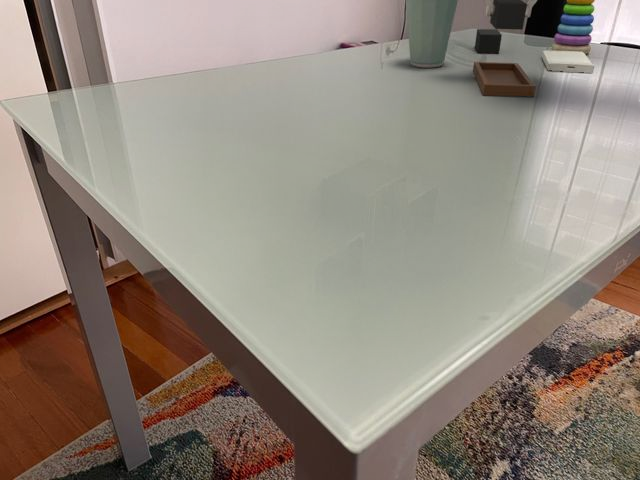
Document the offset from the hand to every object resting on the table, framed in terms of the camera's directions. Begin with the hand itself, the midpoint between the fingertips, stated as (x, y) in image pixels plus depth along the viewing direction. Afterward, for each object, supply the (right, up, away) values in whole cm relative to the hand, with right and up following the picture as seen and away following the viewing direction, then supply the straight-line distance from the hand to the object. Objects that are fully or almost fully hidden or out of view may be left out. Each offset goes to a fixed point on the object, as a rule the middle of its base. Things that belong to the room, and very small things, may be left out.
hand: (507, 16), depth 92 cm
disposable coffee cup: (-11, -3, +16) cm, 20 cm away
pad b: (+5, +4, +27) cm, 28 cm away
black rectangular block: (0, -1, +1) cm, 2 cm away
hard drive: (+17, -4, +15) cm, 23 cm away
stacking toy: (+23, +2, +25) cm, 34 cm away
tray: (0, -11, +3) cm, 11 cm away
